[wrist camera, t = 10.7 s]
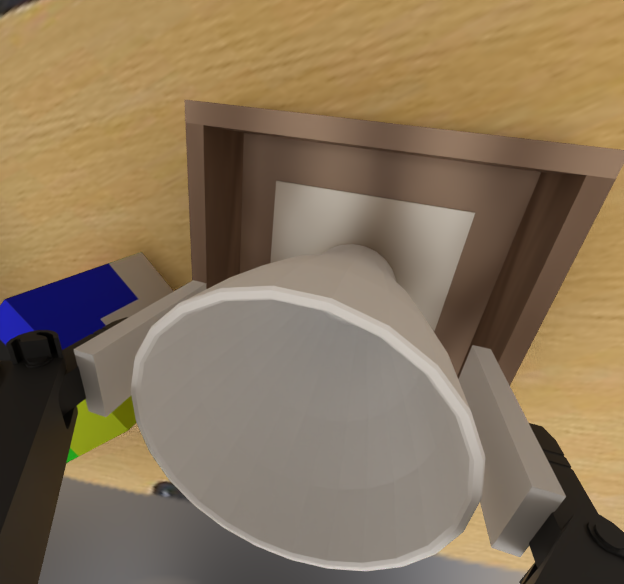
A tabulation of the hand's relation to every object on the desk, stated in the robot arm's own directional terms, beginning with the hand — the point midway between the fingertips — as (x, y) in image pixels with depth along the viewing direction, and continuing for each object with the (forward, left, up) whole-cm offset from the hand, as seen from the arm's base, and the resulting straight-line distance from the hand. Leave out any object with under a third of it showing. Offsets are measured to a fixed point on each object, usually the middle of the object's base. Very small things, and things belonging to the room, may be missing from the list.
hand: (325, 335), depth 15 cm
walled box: (0, 0, -8) cm, 8 cm away
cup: (0, 0, -7) cm, 7 cm away
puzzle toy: (-18, -8, -8) cm, 21 cm away
